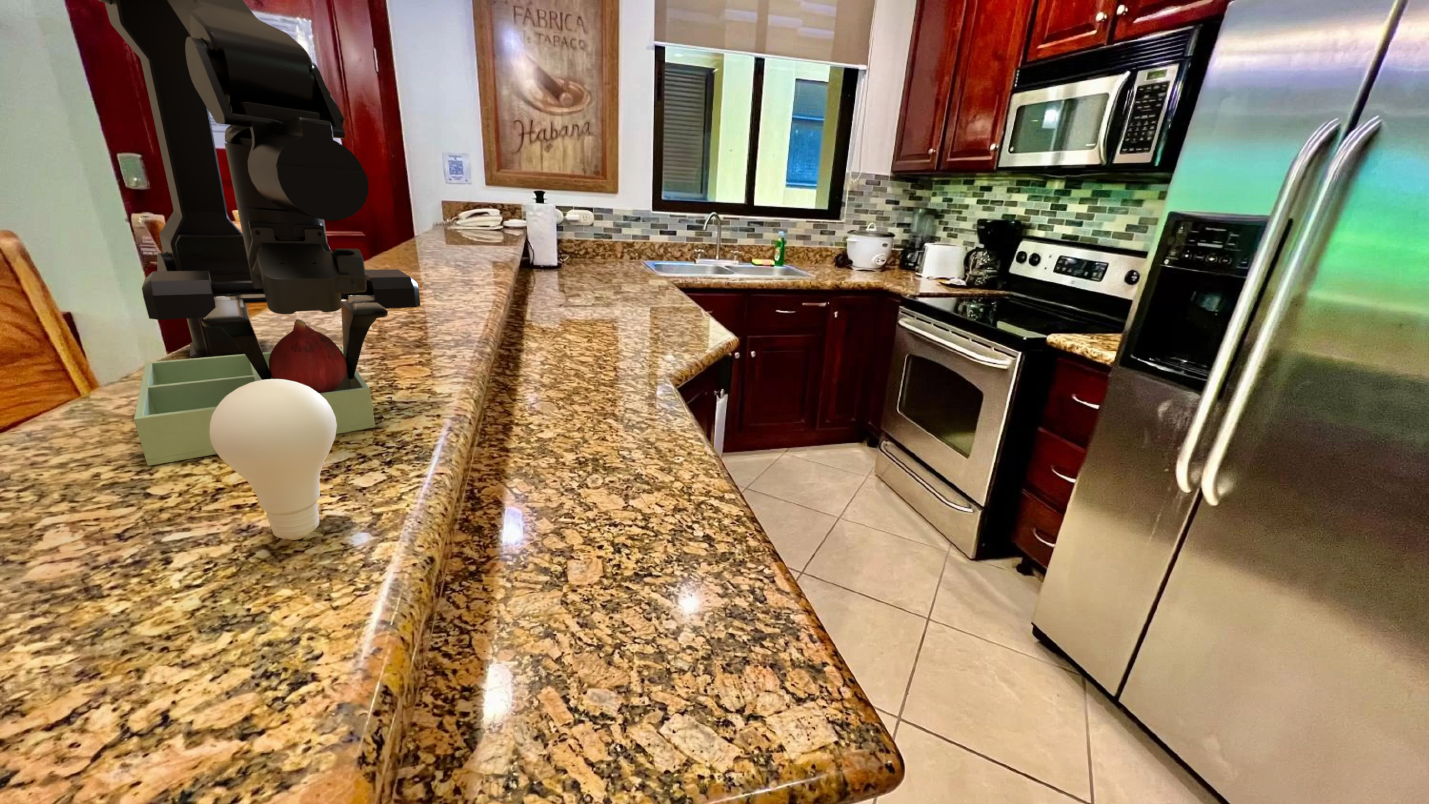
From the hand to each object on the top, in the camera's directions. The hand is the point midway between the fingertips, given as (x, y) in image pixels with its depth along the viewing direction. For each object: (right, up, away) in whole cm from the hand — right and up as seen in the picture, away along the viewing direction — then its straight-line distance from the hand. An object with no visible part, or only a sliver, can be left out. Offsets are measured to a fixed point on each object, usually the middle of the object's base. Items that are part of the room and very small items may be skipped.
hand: (311, 382), depth 52 cm
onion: (0, -2, +1) cm, 2 cm away
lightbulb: (+10, -11, -15) cm, 21 cm away
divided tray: (-6, -3, +1) cm, 7 cm away
